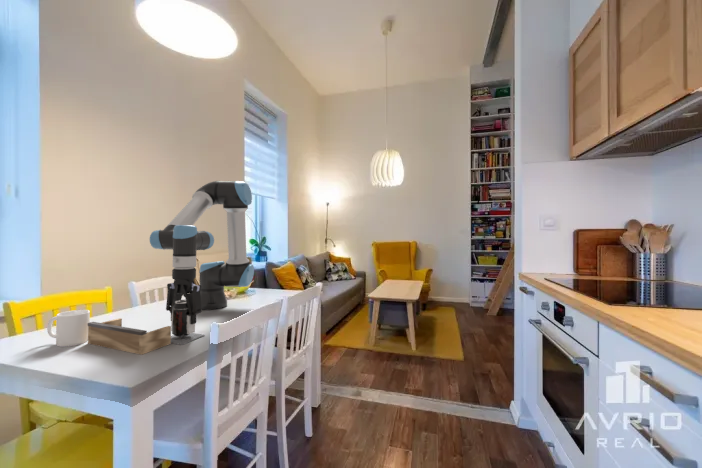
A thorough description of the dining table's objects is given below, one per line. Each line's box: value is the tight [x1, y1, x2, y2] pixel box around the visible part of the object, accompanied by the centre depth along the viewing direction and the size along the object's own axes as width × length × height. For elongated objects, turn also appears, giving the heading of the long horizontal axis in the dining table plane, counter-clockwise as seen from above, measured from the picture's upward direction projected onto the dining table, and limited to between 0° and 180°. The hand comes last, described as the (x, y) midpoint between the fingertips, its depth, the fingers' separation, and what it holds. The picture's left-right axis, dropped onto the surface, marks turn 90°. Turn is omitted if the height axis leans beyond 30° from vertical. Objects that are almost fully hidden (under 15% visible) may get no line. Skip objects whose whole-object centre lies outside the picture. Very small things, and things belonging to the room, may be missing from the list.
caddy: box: [87, 317, 172, 355], centre depth 102 cm, size 10×25×7 cm, turn 71°
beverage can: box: [171, 299, 193, 337], centre depth 108 cm, size 7×7×12 cm
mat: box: [171, 332, 206, 346], centre depth 108 cm, size 10×10×1 cm
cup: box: [46, 309, 91, 348], centre depth 102 cm, size 8×12×10 cm
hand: (183, 331), depth 108 cm, fingers closed on beverage can, 7 cm apart
